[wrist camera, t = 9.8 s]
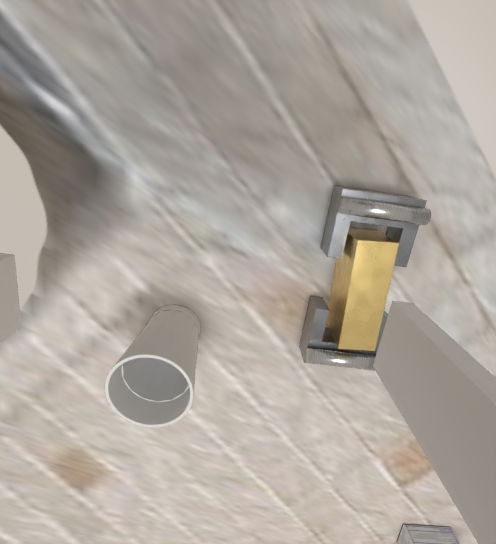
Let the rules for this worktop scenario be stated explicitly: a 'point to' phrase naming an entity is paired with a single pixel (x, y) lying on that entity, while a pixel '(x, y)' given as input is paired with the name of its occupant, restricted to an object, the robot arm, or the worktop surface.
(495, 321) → the worktop surface
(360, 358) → the chain end
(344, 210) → the bracket
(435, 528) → the medicine box
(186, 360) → the cup
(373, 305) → the gold rectangular block
